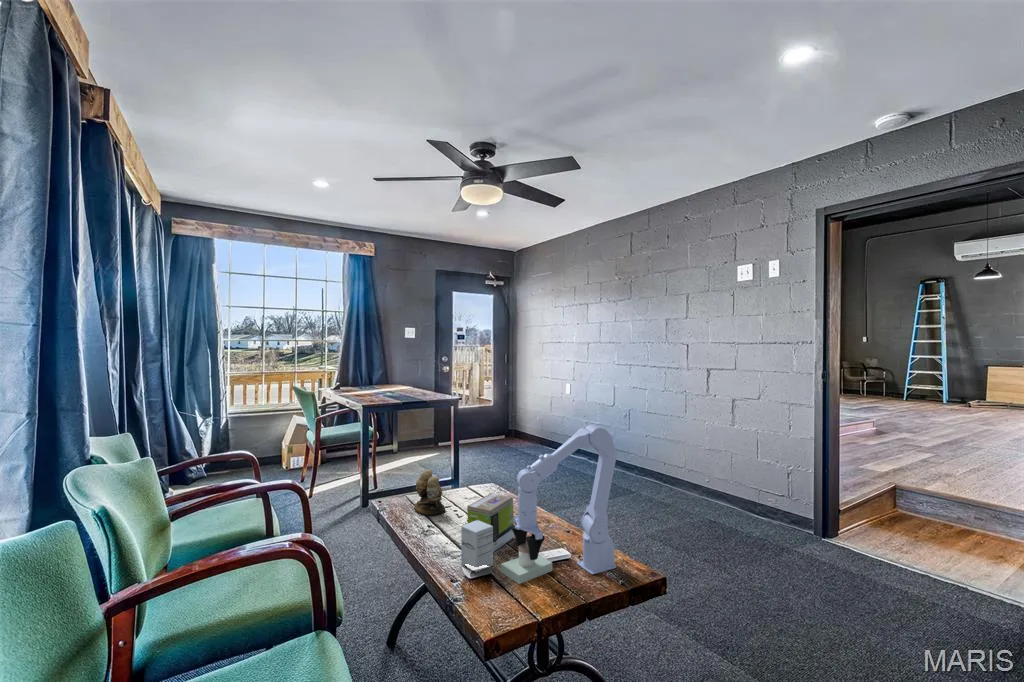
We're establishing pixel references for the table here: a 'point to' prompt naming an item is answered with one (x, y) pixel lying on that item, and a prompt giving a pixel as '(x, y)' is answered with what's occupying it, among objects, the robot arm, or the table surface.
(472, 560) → the supplement box
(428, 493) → the brown rock sculpture
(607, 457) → the robot arm
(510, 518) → the tea box
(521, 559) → the cream cup
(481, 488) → the table surface
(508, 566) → the sage book
